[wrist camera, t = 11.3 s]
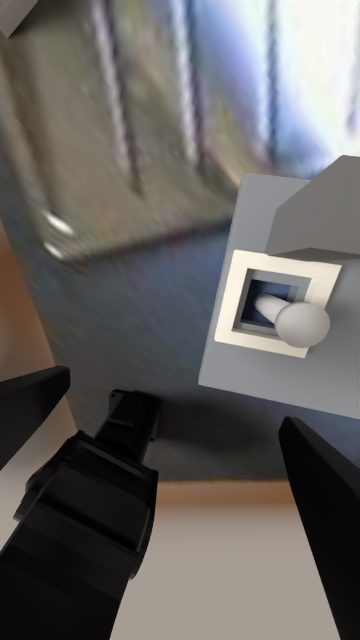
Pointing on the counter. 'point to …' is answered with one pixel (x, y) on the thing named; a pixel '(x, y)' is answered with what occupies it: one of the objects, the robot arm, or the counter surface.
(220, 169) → the counter surface
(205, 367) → the hook board
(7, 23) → the white gabled carton
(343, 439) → the counter surface
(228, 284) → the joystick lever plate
